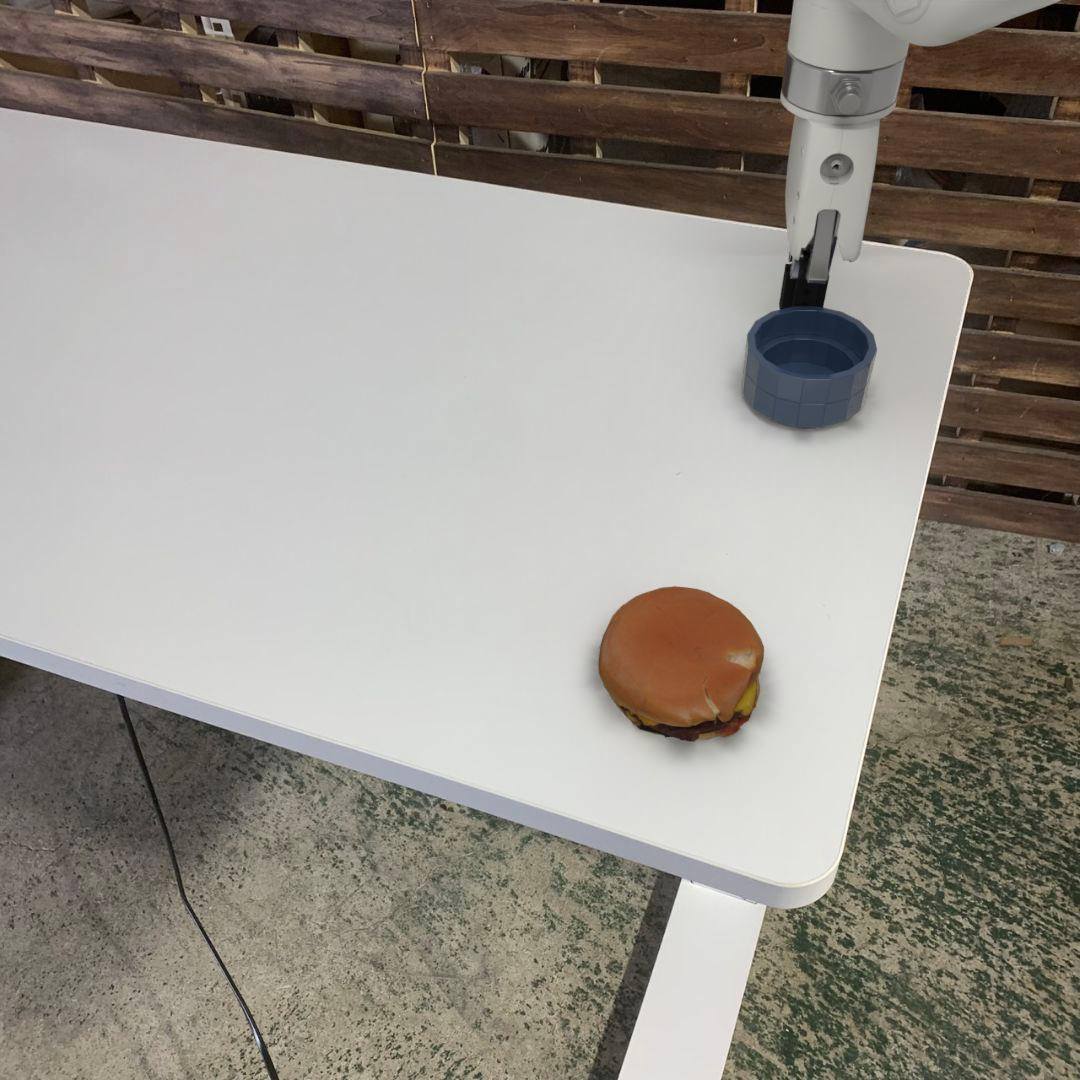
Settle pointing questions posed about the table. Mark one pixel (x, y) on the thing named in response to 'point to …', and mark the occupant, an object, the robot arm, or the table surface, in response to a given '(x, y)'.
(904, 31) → the robot arm
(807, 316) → the bowl
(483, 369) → the table surface
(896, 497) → the table surface
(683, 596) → the burger
